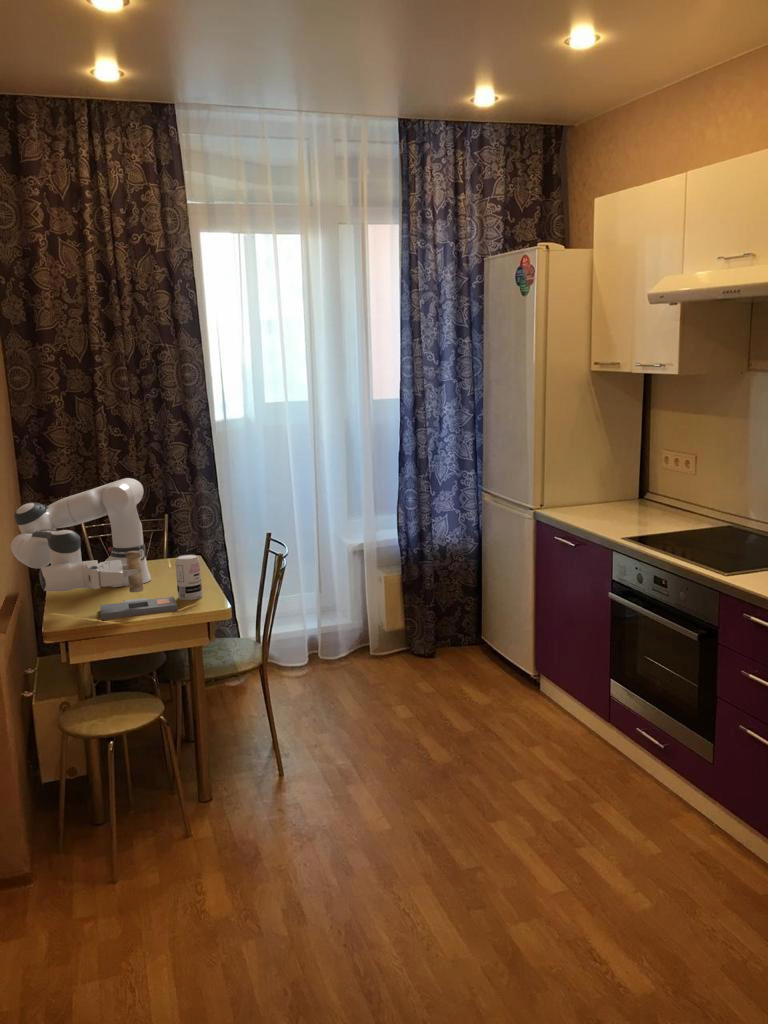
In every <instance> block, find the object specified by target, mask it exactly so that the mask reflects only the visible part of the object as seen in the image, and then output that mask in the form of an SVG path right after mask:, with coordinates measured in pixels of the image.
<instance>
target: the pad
mask: <svg viewBox="0 0 768 1024" xmlns="http://www.w3.org/2000/svg"><path fill="white" fill-rule="evenodd" d="M140 600H149V597H143V598H134V599H133V598H132V599H127V600H126V599H125V600H123V601H124V602H132V601H140Z"/></svg>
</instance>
